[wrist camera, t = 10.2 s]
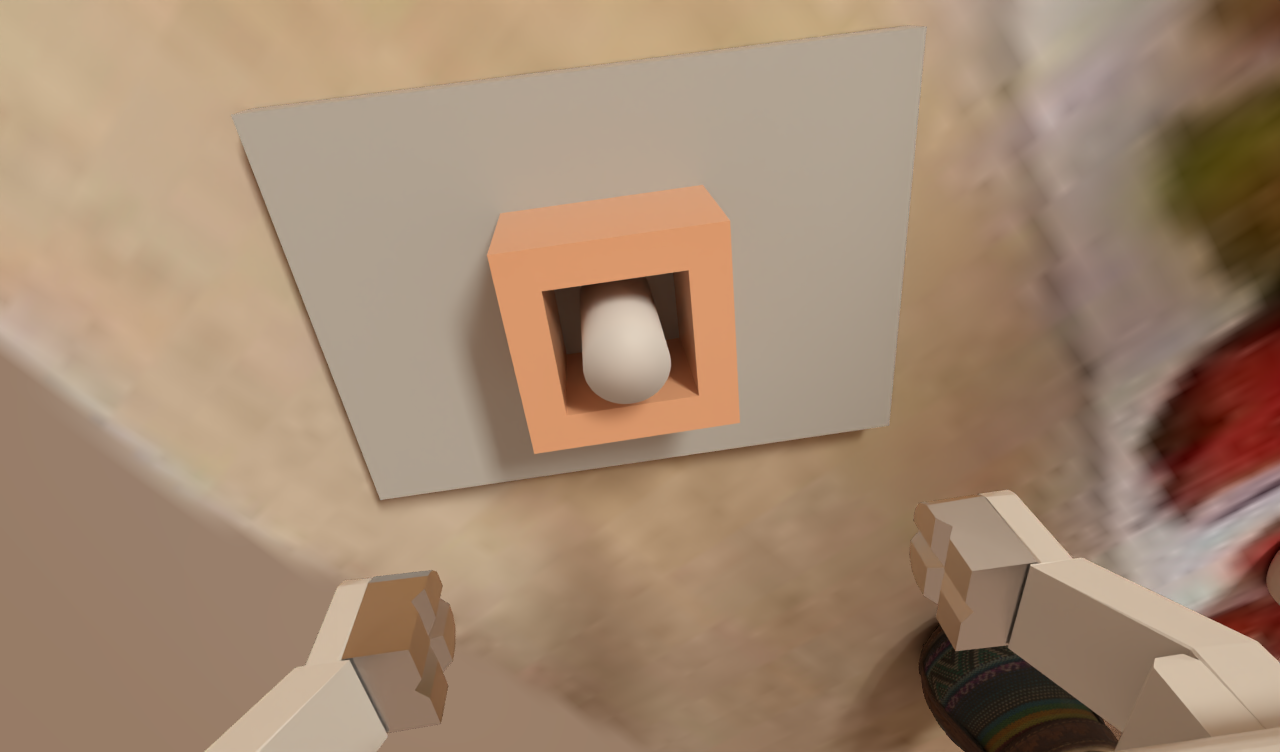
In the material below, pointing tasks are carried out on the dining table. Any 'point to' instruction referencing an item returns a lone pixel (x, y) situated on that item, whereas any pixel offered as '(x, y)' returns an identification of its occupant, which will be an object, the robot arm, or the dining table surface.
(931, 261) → the dining table surface
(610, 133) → the peg board
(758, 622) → the dining table surface
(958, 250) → the dining table surface
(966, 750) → the mate gourd
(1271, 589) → the coffee cup
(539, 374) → the collar
